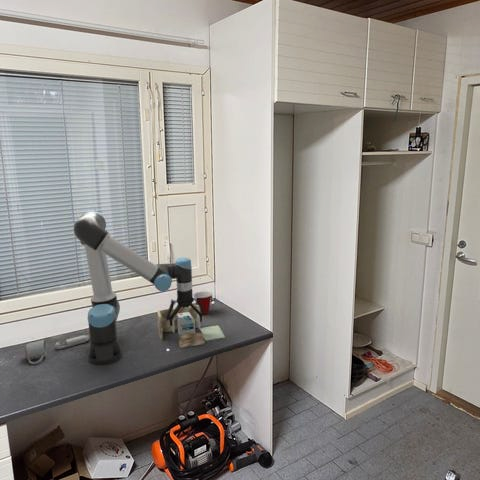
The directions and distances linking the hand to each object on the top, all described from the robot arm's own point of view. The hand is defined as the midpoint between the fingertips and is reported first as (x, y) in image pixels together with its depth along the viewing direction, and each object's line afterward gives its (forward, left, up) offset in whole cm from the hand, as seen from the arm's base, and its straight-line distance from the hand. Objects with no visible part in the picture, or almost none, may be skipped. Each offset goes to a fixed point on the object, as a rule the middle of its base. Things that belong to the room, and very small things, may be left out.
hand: (186, 329), depth 210 cm
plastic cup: (+14, +25, -4) cm, 29 cm away
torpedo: (-53, +8, -4) cm, 54 cm away
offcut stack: (+1, -9, -4) cm, 10 cm away
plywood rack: (-2, +4, -4) cm, 6 cm away
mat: (+13, -1, -4) cm, 14 cm away
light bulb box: (0, 0, -4) cm, 4 cm away
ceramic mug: (-69, -1, -4) cm, 69 cm away
